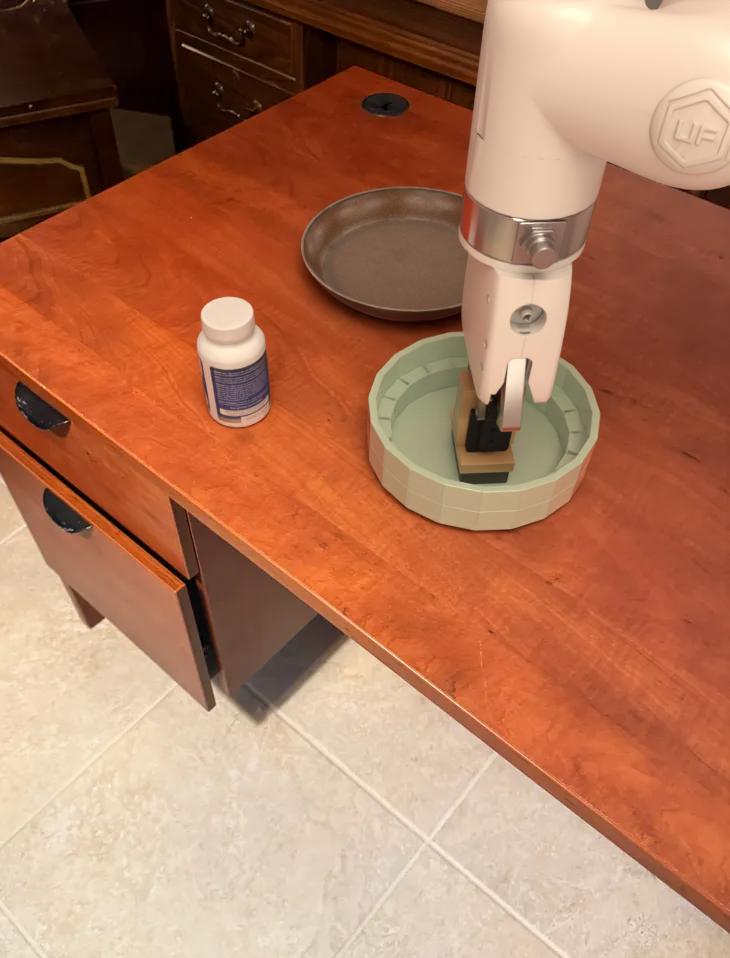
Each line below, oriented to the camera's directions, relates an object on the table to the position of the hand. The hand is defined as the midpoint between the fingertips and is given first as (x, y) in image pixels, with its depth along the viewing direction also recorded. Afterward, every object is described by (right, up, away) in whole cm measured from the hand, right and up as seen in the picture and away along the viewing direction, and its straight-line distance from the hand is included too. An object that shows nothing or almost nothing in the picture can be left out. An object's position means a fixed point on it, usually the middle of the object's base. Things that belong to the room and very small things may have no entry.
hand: (483, 433), depth 63 cm
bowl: (0, -1, +3) cm, 4 cm away
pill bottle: (-19, +3, +7) cm, 21 cm away
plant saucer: (-4, +18, +18) cm, 26 cm away
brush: (0, -2, +2) cm, 3 cm away
